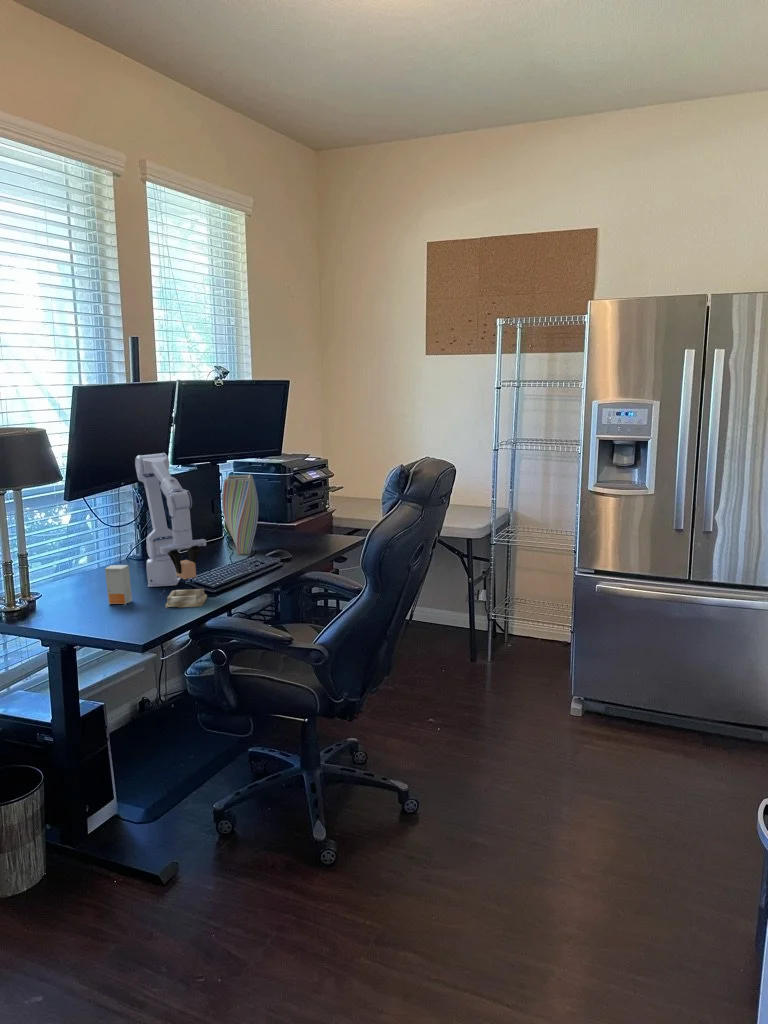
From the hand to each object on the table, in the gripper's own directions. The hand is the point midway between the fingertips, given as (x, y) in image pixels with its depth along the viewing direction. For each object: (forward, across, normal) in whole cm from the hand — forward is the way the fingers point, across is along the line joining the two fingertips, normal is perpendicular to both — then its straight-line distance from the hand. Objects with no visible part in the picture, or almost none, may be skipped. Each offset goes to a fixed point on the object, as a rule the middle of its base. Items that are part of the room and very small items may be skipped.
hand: (185, 571), depth 236 cm
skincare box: (+9, -18, +10) cm, 22 cm away
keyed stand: (+8, -3, -5) cm, 10 cm away
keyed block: (+2, 0, 0) cm, 2 cm away
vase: (+8, +41, +38) cm, 56 cm away
